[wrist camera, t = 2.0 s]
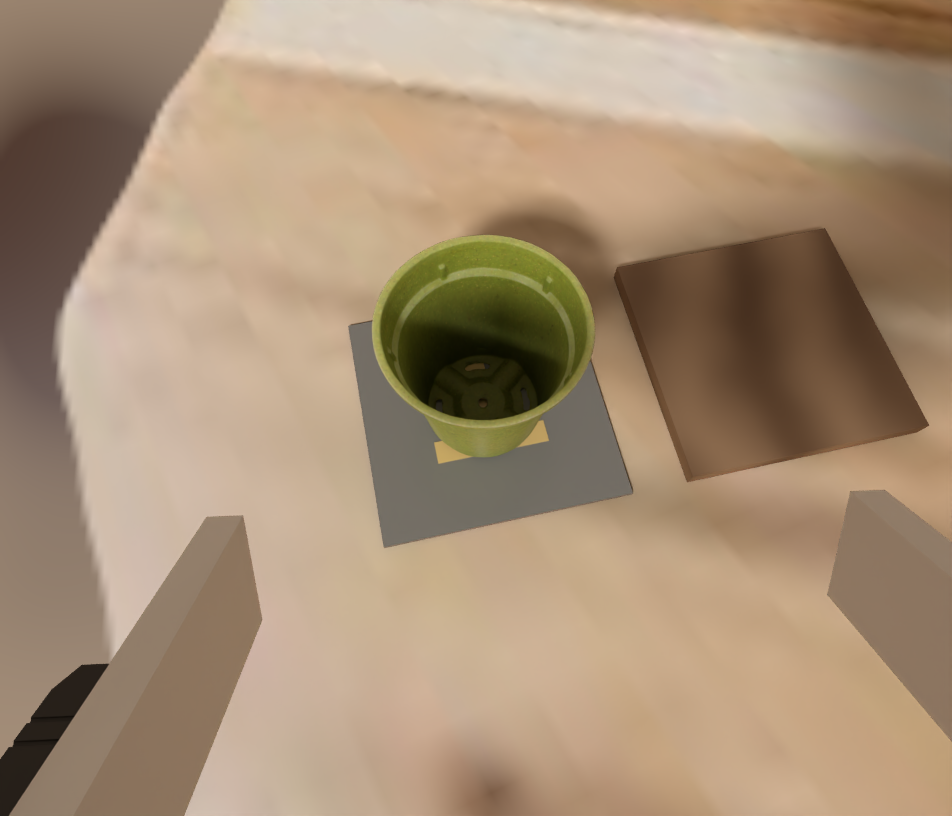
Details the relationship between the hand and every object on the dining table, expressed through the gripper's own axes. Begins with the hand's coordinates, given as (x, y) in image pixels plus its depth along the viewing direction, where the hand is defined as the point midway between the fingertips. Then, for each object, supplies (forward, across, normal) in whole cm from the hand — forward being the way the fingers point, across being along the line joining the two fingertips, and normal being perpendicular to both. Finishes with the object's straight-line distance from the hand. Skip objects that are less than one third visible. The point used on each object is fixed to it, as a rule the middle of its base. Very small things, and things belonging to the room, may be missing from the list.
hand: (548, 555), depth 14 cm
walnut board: (+23, +15, -3) cm, 27 cm away
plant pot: (+21, -1, -5) cm, 21 cm away
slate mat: (+21, -1, -5) cm, 21 cm away
